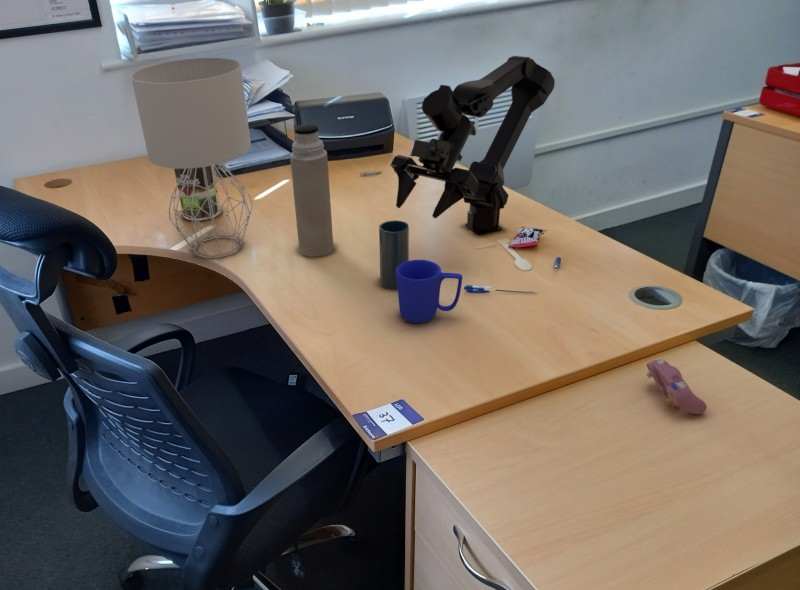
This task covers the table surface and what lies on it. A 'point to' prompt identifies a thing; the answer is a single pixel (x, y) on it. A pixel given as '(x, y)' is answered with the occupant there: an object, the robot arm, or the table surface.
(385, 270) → the pencil cup
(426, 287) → the mug
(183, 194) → the coffee can
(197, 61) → the table lamp
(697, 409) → the toy shoe
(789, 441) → the table surface
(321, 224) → the thermos bottle
